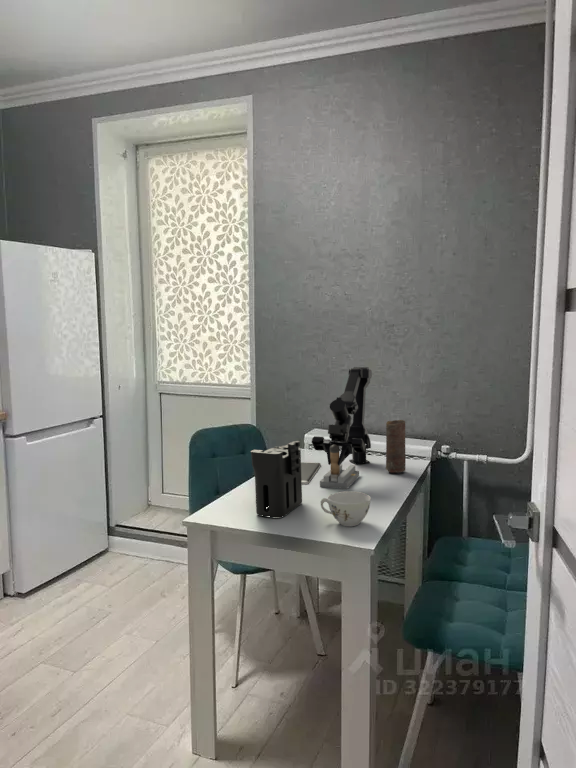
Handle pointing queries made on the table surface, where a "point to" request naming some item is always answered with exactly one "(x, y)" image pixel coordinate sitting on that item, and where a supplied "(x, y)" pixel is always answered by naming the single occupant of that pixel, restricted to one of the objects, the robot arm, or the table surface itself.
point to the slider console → (341, 478)
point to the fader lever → (334, 462)
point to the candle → (395, 446)
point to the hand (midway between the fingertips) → (333, 464)
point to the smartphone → (308, 471)
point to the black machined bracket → (277, 479)
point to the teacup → (348, 507)
